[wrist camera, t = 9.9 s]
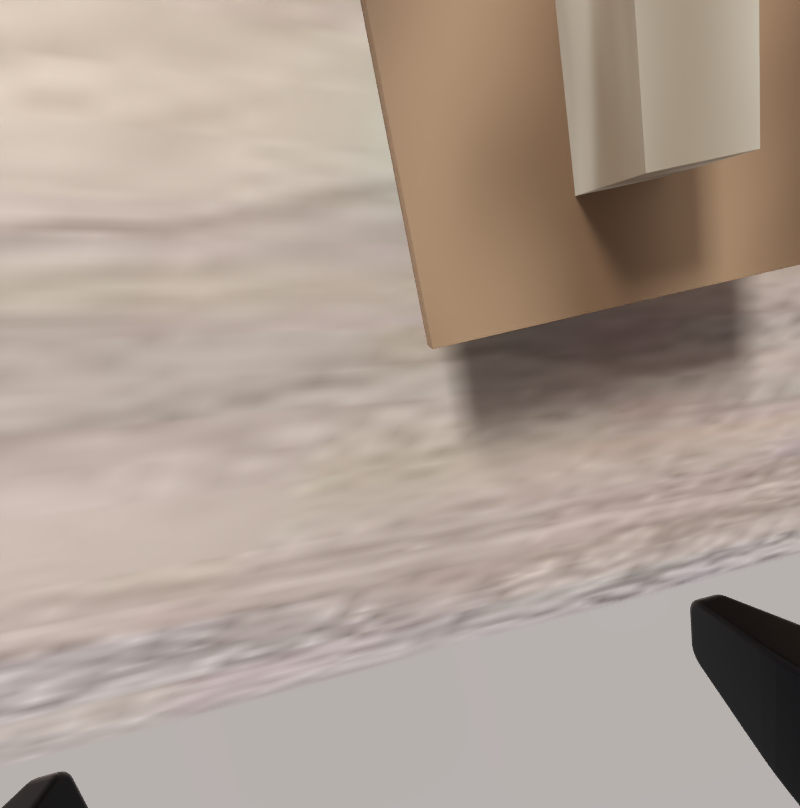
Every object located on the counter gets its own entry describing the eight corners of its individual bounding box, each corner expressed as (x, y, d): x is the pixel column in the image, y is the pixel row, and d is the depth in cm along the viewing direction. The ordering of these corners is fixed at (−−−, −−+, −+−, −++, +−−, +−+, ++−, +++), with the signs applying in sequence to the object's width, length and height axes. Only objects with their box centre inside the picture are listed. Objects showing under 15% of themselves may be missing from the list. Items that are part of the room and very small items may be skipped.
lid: (795, -221, 12) (1007, -449, 8) (791, 261, 15) (942, 257, 11) (331, -144, 11) (329, -354, 7) (427, 345, 14) (459, 370, 10)
